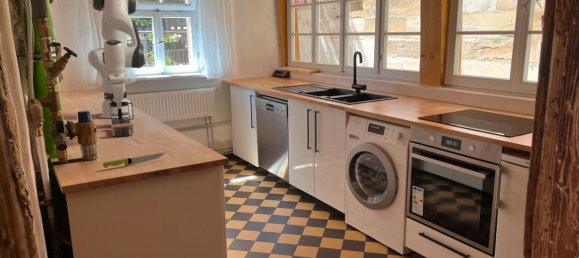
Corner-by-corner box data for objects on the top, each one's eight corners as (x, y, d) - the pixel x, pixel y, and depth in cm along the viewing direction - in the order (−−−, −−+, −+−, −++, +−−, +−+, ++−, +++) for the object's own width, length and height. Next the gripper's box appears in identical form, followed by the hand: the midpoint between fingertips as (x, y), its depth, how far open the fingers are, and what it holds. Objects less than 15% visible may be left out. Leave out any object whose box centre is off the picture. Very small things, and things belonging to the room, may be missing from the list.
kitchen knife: (164, 159, 166) (164, 151, 165) (165, 159, 165) (165, 152, 164) (103, 170, 154) (102, 162, 153) (104, 171, 153) (103, 162, 152)
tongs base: (112, 129, 216) (111, 118, 215) (129, 127, 220) (128, 117, 218) (114, 137, 199) (113, 126, 198) (132, 135, 203) (131, 124, 201)
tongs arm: (122, 130, 214) (121, 122, 213) (127, 129, 215) (126, 121, 214) (124, 136, 201) (123, 127, 200) (129, 135, 202) (128, 127, 201)
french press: (109, 128, 219) (105, 83, 214) (110, 124, 227) (105, 81, 222) (134, 126, 223) (130, 81, 218) (133, 122, 231) (129, 80, 226)
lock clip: (133, 132, 206) (132, 123, 205) (133, 133, 204) (132, 124, 203) (112, 134, 203) (111, 125, 202) (112, 135, 200) (111, 126, 199)
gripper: (108, 74, 205) (111, 103, 208) (109, 79, 187) (112, 111, 190) (122, 74, 207) (124, 102, 211) (125, 79, 189) (127, 110, 193)
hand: (118, 106), depth 200 cm, fingers open, 8 cm apart
